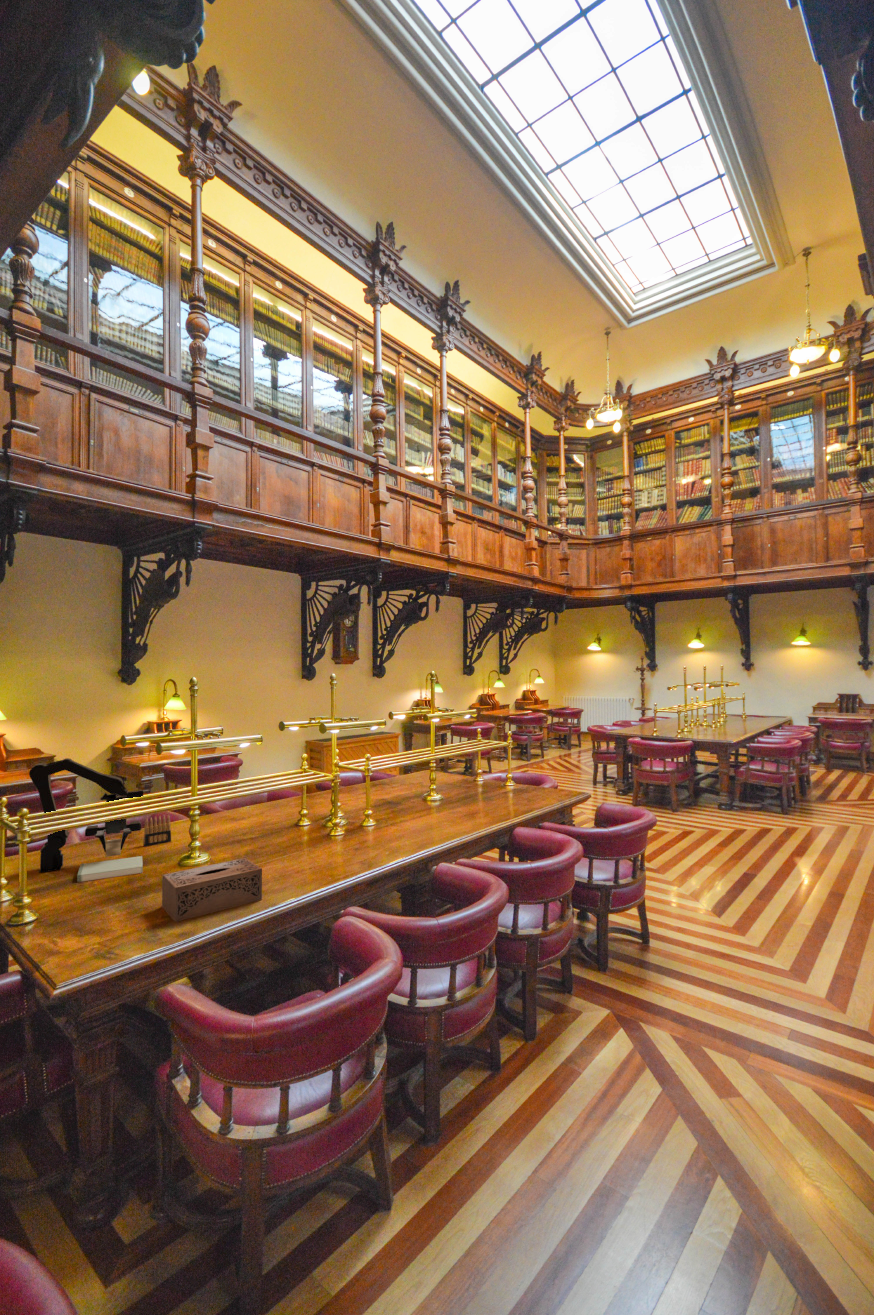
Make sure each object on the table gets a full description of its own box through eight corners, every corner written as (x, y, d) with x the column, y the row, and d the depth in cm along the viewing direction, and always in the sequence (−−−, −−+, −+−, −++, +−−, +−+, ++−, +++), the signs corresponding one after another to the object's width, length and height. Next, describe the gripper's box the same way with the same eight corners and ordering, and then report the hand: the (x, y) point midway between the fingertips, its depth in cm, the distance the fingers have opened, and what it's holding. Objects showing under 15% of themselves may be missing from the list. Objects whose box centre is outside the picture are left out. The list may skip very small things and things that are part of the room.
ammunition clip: (144, 847, 238) (145, 818, 239) (143, 846, 240) (143, 817, 240) (171, 842, 246) (171, 814, 246) (169, 841, 247) (170, 813, 248)
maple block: (105, 856, 216) (105, 843, 216) (106, 853, 220) (106, 840, 221) (120, 855, 218) (120, 841, 219) (120, 851, 223) (121, 838, 223)
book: (77, 883, 196) (77, 875, 196) (80, 871, 208) (80, 863, 208) (142, 873, 205) (142, 866, 206) (142, 862, 218) (142, 855, 218)
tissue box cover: (244, 888, 190) (245, 858, 191) (261, 900, 179) (262, 868, 179) (162, 907, 174) (162, 874, 174) (174, 923, 163) (175, 887, 163)
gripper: (84, 817, 209) (83, 860, 208) (141, 811, 217) (140, 852, 217) (86, 811, 219) (85, 852, 218) (141, 806, 227) (140, 845, 227)
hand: (113, 850), depth 219 cm, fingers closed on maple block, 5 cm apart
